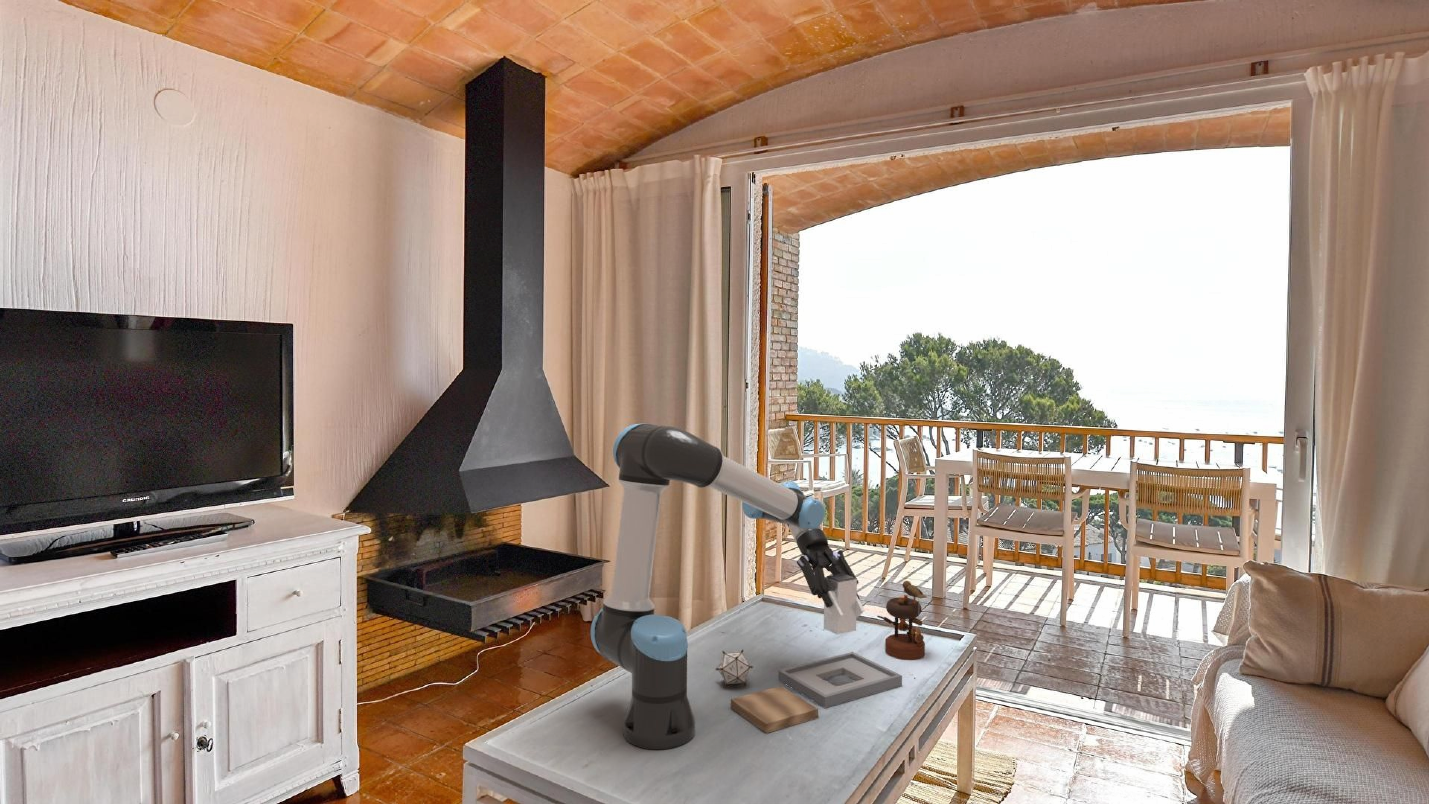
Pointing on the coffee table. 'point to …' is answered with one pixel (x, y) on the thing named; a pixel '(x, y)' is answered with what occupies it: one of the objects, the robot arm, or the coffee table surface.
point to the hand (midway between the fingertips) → (850, 615)
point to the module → (842, 603)
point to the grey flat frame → (851, 664)
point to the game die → (734, 668)
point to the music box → (905, 625)
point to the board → (774, 709)
